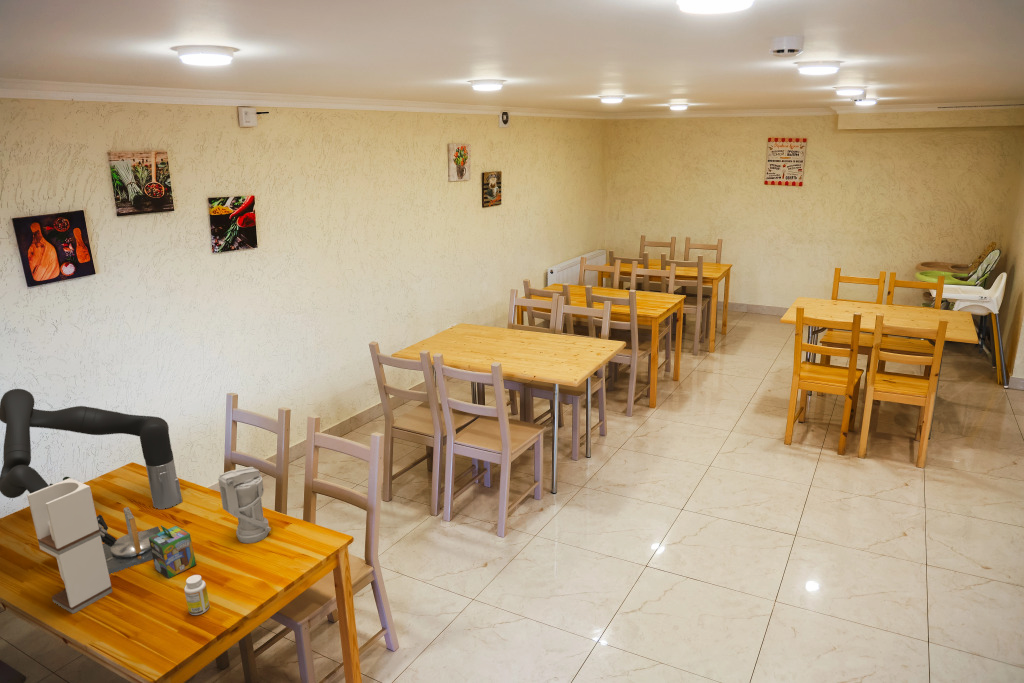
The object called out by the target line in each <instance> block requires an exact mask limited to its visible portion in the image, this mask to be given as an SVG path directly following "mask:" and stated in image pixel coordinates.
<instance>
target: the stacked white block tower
mask: <svg viewBox="0 0 1024 683" xmlns="http://www.w3.org/2000/svg"><path fill="white" fill-rule="evenodd" d="M52 484H53V485H51V486H48V487H46V488H43V489H41V490H38V491H36V492H33V493H31V494H30V493H29V494H26V496H27V501H28V504H29V505H28V506H29V509H30V512H31V517H32V522H33V526H34V529H35V533H36V534H35V535H36V537H37V542H38V546H39V550H41V551H43V552H45V553H47V554H49V555H51V556H52V557H54V558H56V561H57V565H58V570H59V574H60V578H61V579H62V581H63V583H64V587H65V589H63V590H61V591H59V592H58V593H56V594H53V595H52V596H51V598H52V603H53V602H54V604H55V603H56V604H55V605H57V604H58V605H57V606H58V607H60V606H61V608H62V609H63V610H65V609H66V611H68V612H69V613H71V614H75V613H78V612H79V611H81V610H82V609H85V608H86V607H87V606H89V605H91V604H93V603H95V602H97V601H98V600H100V599H102V598H104V597H106V596H107V595H110V594H111V593H113V588H112V583H111V578H110V574H109V573H108V568H107V564H106V559H105V554H104V550H103V545H102V544H103V542H102V540H101V536H100V531H99V526H98V522H97V514H96V508H95V504H94V499H93V494H92V490H91V486H90V485H87V484H85V483H83V482H80V481H78V480H76V479H74V478H72V477H70V478H68V479H66V480H63V479H62V480H61V481H59V482H56V483H52Z"/></svg>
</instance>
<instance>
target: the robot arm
mask: <svg viewBox="0 0 1024 683" xmlns="http://www.w3.org/2000/svg"><path fill="white" fill-rule="evenodd" d="M34 407H35V397H34V396H33V394H32V393H31V392H30V391H28V390H26V389H23V388H22V389H21V388H12V389H9V390H8V391H6V392H4V394H3V396H2V397H1V399H0V422H2V423H4V424H5V425H6V426H5V434H4V442H3V453H2V454H3V460H2V462H3V463H2V464H3V465H2V466H1V467H2V468H1V471H0V494H1V495H3V496H4V497H6V498H8V499H15V498H19V497H20V496H22V495H23V494H24V493H25V492H26V491H28V493H29V494H31V493H33V492H36V491H38V490H41V489H43V488H46V487H48V486H49V485H50V484H48V482H47V481H46V480H45V479H44V478H43V477H42V476H41V474H39V472H38V471H37V470H36V469H34V468H33V467H31V466H30V464H31V461H32V449H31V446H32V444H31V428H41V429H42V428H43V429H51V430H58V431H65V432H73V433H78V434H83V435H84V434H85V435H91V436H106V435H118V434H119V435H121V434H125V435H131V436H136V437H139V440H140V446H141V450H142V456H143V459H144V462H145V463H144V464H145V469H146V473H147V479H148V484H149V489H150V490H149V491H150V494H151V500H152V505H153V508H154V507H155V508H154V509H156V508H158V509H157V510H165V508H166V509H169V508H172V506H173V507H175V506H177V505H178V504H180V503H183V497H182V492H181V486H180V480H179V477H178V476H177V471H176V466H175V459H174V452H173V449H172V444H171V439H170V434H169V432H170V431H169V429H170V428H169V424H168V422H167V421H166V420H165V419H164V418H161V417H159V416H151V415H140V414H139V415H138V414H137V415H136V414H129V413H128V414H127V413H124V412H118V411H114V410H108V409H107V410H106V409H102V408H97V407H92V406H84V405H76V406H72V407H66V408H62V409H58V410H43V409H36V408H34ZM176 504H177V505H176ZM96 517H97V522H98V526H99V531H100V536H101V540H102V544H107V545H108V546H110V547H112V546H113V545H114V544H115V542H116V541H117V539H116V537H114V536H113V535H111V534H110V533H108V530H109V527H108V525H107V522H106V521H105V519H104V518H103V515H101V514H98V515H96Z"/></svg>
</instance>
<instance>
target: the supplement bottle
mask: <svg viewBox="0 0 1024 683" xmlns="http://www.w3.org/2000/svg"><path fill="white" fill-rule="evenodd" d="M206 583H207V582H205V580H202V576H201V575H200V574H193V575H191V576H189V577H187V579H186V580H185V584H186V585H185V586H184V589H183V590H184V595H185V600H186V605H187V606H186V607H187V611H188V613H189V614H190V615H192V616H198V615H202V614H203V613H206V612H207V611H208V610H209V608H210V601H209V596H208V590H207V584H206Z"/></svg>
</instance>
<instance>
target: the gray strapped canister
mask: <svg viewBox="0 0 1024 683" xmlns="http://www.w3.org/2000/svg"><path fill="white" fill-rule="evenodd" d="M218 486H219V491H220V492H219V494H220V498H221V505H222V509H223V510H224V511H226V512H227V513H228V514H230V515H231V516H233V517H235V518H237V520H238V524H237V529H236V532H235V535H236V537H237V539H238V541H239V542H240V543H243V544H254V543H255V544H256V543H258V542H261V541H262V540H264V539H265V538H267V536H268V535H269V532H270V531H271V530H272V527H270V526H269V520H268V519H267V518H266V517H265V516H264V511H263V510H264V509H263V503H262V497H263V495H264V492H265V488H264V481H263V477H262V474H260V470H259V469H258V468H255V467H253V466H249V467H242V468H237V469H232V470H229V471H225V472H223V473H219V477H218Z"/></svg>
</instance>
